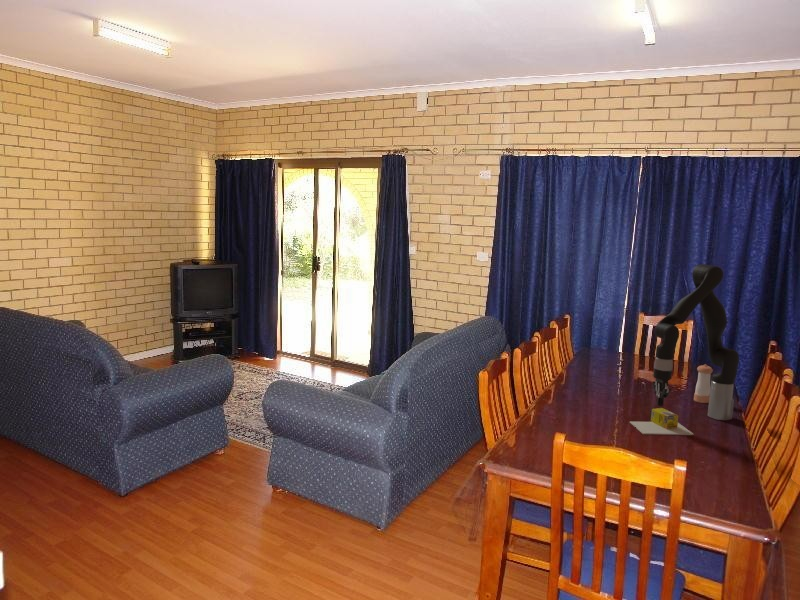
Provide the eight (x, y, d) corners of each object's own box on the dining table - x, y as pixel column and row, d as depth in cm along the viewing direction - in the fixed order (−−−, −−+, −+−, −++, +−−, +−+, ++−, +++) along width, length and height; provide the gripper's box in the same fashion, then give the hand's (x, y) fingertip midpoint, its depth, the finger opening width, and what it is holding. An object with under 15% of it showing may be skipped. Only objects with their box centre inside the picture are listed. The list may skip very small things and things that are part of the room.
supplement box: (649, 420, 261) (666, 429, 251) (650, 408, 260) (667, 416, 250) (660, 419, 263) (677, 428, 252) (661, 407, 262) (678, 415, 252)
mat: (677, 423, 260) (677, 422, 260) (693, 435, 246) (693, 434, 246) (629, 422, 260) (629, 421, 260) (643, 434, 246) (643, 433, 246)
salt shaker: (711, 403, 289) (715, 367, 286) (696, 402, 290) (699, 365, 288) (707, 399, 296) (710, 363, 293) (691, 398, 297) (695, 362, 295)
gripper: (678, 372, 248) (675, 410, 250) (664, 364, 261) (660, 400, 263) (661, 371, 248) (658, 410, 250) (648, 363, 261) (644, 400, 263)
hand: (659, 405), depth 257 cm, fingers closed
